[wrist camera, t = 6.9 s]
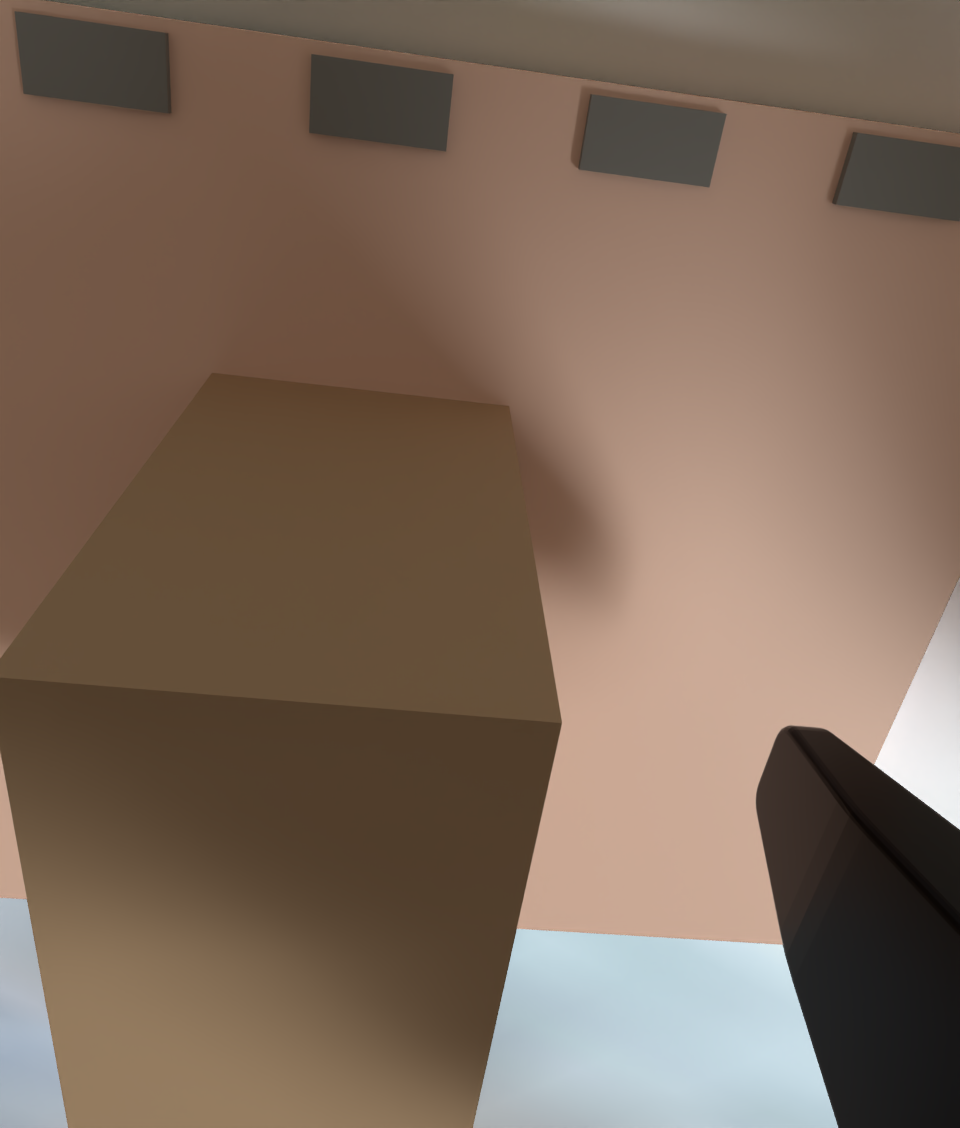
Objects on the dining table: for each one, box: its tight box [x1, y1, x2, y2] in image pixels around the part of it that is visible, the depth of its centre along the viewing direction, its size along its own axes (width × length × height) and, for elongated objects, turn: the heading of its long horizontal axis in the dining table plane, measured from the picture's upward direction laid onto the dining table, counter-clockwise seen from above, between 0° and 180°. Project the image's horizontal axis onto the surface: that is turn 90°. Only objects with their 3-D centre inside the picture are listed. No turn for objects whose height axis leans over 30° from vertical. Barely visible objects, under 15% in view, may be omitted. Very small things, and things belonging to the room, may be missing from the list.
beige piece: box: [0, 0, 960, 1128], centre depth 9 cm, size 14×11×6 cm
